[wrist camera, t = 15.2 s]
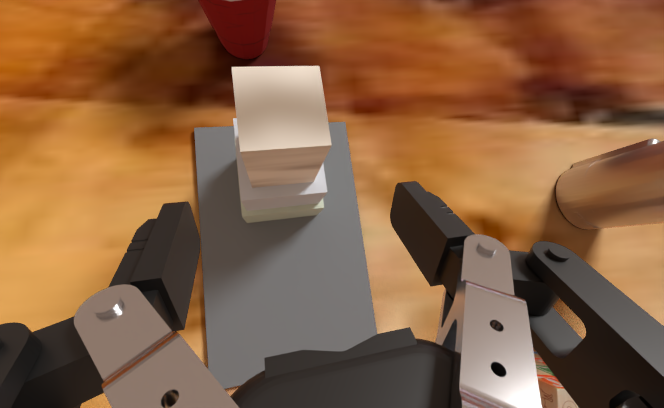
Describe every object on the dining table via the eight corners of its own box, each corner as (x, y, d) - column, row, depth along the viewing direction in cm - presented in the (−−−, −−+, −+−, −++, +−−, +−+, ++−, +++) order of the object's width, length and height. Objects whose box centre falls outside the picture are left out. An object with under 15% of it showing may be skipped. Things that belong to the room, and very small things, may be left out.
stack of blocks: (606, 355, 38) (754, 399, 26) (610, 408, 37) (768, 478, 25) (462, 344, 35) (558, 388, 23) (461, 401, 34) (562, 479, 22)
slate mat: (195, 130, 33) (194, 127, 33) (344, 124, 37) (345, 121, 37) (211, 389, 29) (209, 392, 28) (378, 352, 33) (380, 354, 32)
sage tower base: (240, 155, 33) (234, 137, 28) (308, 150, 35) (313, 133, 30) (247, 223, 32) (242, 216, 27) (317, 214, 34) (324, 207, 29)
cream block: (246, 129, 24) (231, 66, 16) (305, 126, 25) (319, 66, 17) (252, 187, 23) (240, 151, 15) (313, 181, 24) (331, 145, 16)
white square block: (240, 142, 28) (233, 118, 24) (309, 138, 30) (316, 114, 25) (247, 211, 27) (240, 200, 23) (318, 203, 29) (327, 192, 24)
